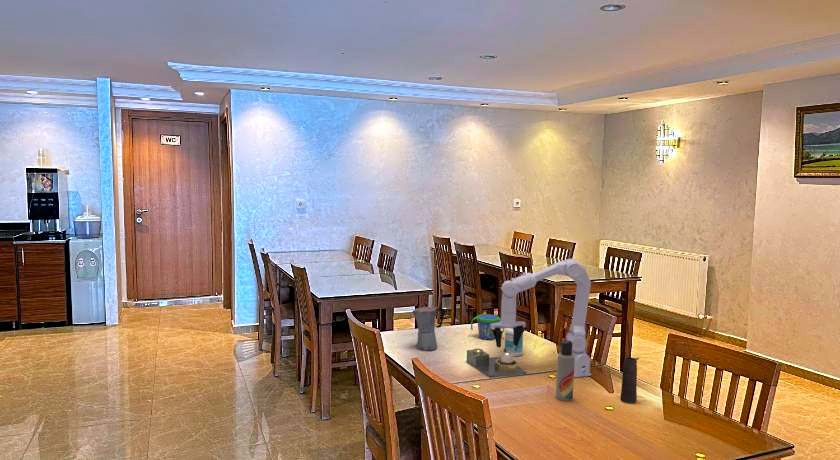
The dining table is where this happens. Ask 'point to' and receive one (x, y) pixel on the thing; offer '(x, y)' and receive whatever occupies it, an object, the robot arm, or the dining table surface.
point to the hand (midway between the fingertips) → (507, 346)
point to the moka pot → (427, 326)
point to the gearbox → (492, 364)
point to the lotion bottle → (565, 372)
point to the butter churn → (629, 377)
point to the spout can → (506, 357)
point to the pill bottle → (510, 342)
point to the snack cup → (486, 325)
